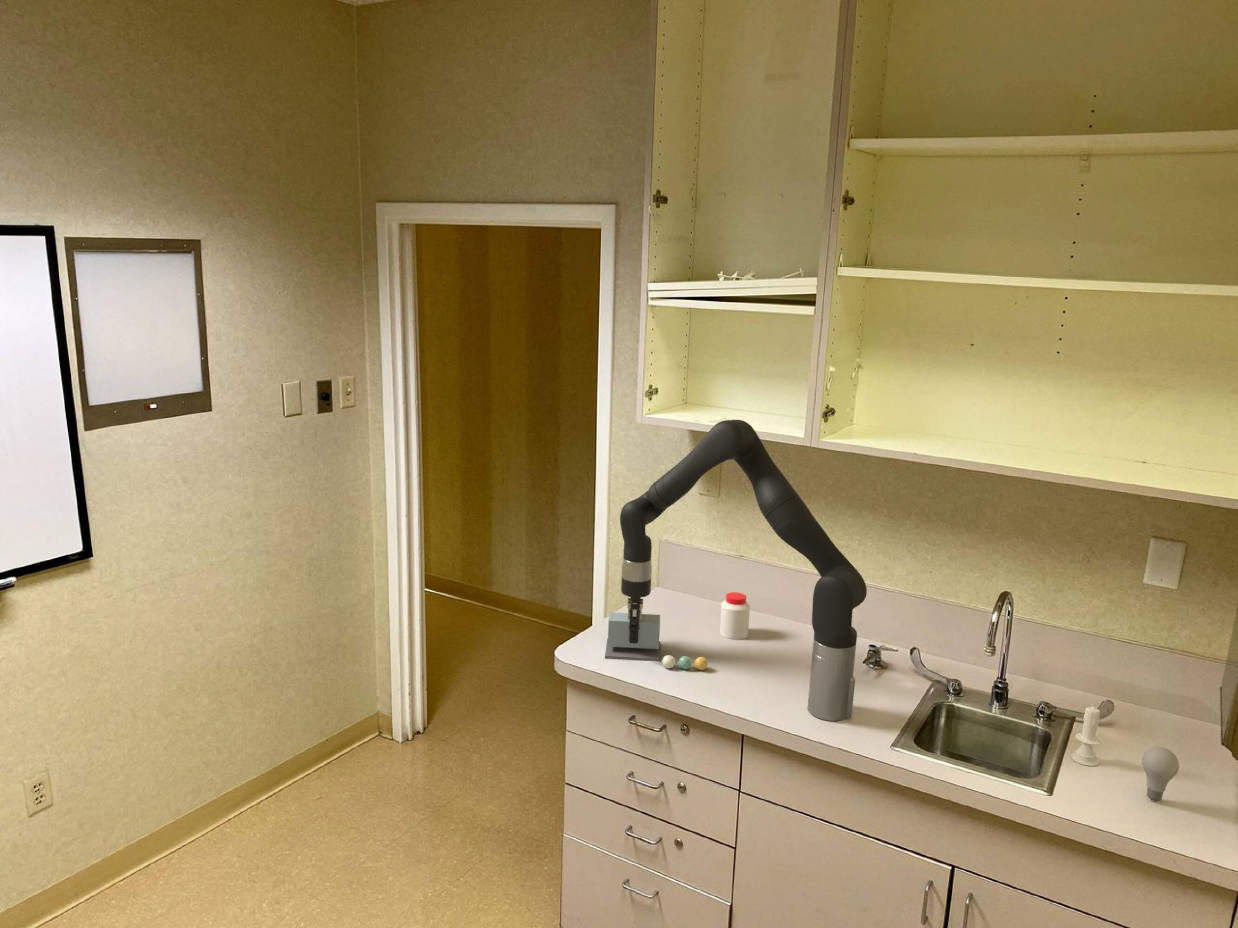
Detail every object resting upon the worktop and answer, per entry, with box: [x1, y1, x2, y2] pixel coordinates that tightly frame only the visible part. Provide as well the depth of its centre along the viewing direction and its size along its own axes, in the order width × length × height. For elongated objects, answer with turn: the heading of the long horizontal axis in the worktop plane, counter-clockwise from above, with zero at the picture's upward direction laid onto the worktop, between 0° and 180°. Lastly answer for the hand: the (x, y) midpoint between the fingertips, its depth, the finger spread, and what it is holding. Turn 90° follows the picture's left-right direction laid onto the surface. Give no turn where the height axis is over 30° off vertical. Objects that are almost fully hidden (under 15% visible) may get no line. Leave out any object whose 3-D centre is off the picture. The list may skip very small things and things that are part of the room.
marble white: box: [661, 654, 676, 669], centre depth 223 cm, size 3×3×3 cm
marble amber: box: [694, 656, 708, 671], centre depth 223 cm, size 3×3×3 cm
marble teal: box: [678, 655, 692, 670], centre depth 223 cm, size 3×3×3 cm
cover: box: [607, 611, 661, 649], centre depth 231 cm, size 13×6×7 cm, turn 88°
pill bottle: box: [719, 591, 751, 641], centre depth 244 cm, size 8×8×11 cm
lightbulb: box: [1141, 745, 1180, 802], centre depth 172 cm, size 6×6×11 cm
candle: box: [1070, 705, 1102, 767], centre depth 186 cm, size 5×5×12 cm
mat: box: [604, 638, 661, 662], centre depth 232 cm, size 14×11×1 cm
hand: (633, 637), depth 232 cm, fingers open, 5 cm apart
